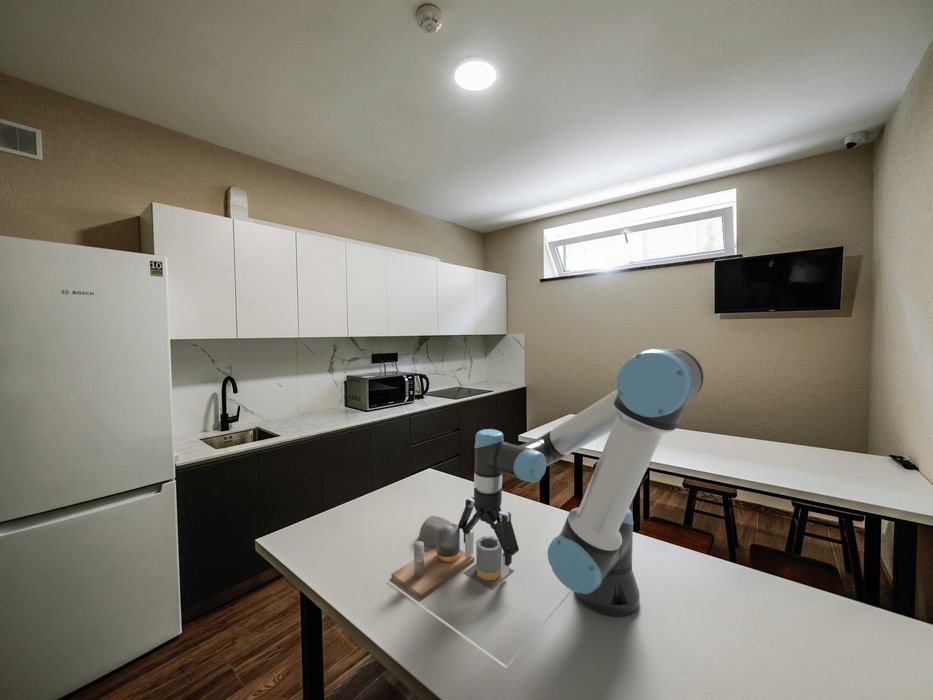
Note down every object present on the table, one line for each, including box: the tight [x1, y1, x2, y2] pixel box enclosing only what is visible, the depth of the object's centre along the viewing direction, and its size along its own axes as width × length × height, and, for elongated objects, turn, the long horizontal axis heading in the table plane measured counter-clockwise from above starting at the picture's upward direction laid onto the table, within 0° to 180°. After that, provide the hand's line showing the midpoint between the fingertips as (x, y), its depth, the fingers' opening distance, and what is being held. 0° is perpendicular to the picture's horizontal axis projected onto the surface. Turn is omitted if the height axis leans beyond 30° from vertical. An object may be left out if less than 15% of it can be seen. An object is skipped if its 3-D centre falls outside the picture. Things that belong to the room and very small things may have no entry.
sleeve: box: [475, 535, 503, 580], centre depth 100 cm, size 7×7×8 cm
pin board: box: [391, 522, 475, 600], centre depth 101 cm, size 12×20×10 cm, turn 139°
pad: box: [463, 563, 515, 591], centre depth 100 cm, size 10×10×1 cm
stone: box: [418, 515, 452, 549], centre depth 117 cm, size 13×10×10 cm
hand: (486, 564), depth 101 cm, fingers open, 12 cm apart
